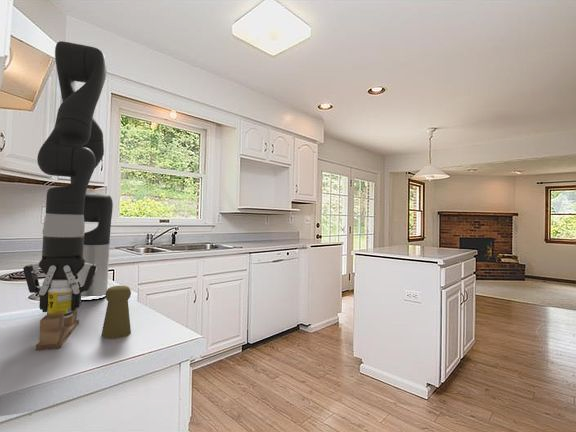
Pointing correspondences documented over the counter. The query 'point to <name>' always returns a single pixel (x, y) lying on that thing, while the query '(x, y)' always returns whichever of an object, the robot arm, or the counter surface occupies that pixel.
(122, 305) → the brown tapered upright piece
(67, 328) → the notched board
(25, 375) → the counter surface
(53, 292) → the supplement bottle
